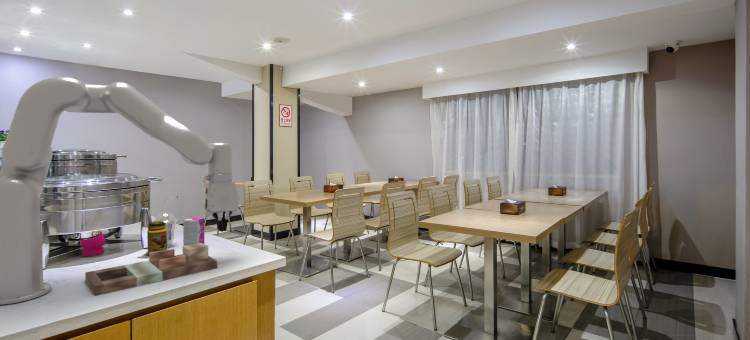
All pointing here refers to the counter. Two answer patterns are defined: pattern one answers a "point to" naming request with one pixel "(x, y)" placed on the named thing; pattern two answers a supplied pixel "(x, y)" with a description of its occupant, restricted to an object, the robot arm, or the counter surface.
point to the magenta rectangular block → (93, 245)
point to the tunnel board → (145, 271)
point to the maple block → (195, 252)
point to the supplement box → (193, 231)
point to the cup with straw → (168, 222)
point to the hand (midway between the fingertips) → (222, 230)
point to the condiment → (156, 237)
